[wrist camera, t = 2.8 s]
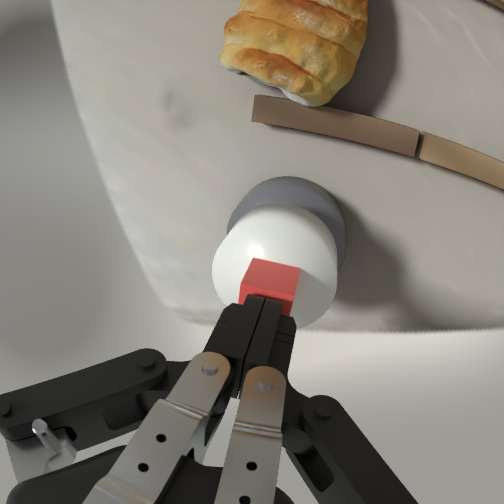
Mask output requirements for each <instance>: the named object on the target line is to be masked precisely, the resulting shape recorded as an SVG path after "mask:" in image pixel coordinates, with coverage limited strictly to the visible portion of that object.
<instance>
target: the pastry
mask: <svg viewBox="0 0 504 504" xmlns="http://www.w3.org/2000/svg"><path fill="white" fill-rule="evenodd" d="M367 11H368V0H242V2H241V7H240V8H239V10H238V13H237V15H235V16H233V17H231V18H229V20H228V21H227V22H226V25H225V27H224V33H225V44H224V49H223V51H222V52H221V54H220V56H219V60H220V64H221V65H222V66H223V67H224V68H226V69H227V70H228V71H231V72H233V73H235V74H239V75H245V76H246V77H248V78H249V79H251V80H253V81H256V82H258V83H262V84H266V85H268V86H272V87H275V88H279V89H281V90H282V92H283V93H284V94H285V95H286V96H287V97H288V98H289V99H291V100H292V101H295V102H298V103H300V104H302V105H304V106H311V107H316V106H321V105H324V104H326V103H327V102H329V101H330V100H331V99H332V97H333V96H334V95H335V94H336V93H337V91H338V90H340V89H341V88H342V87H343V86H345V85H346V84H347V83H348V82H349V81H350V80H351V78H352V76H353V75H354V72H355V67H356V62H357V60H358V58H359V56H360V52H361V50H362V48H363V46H364V44H365V41H366V30H367V24H368V14H367Z"/></svg>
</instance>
